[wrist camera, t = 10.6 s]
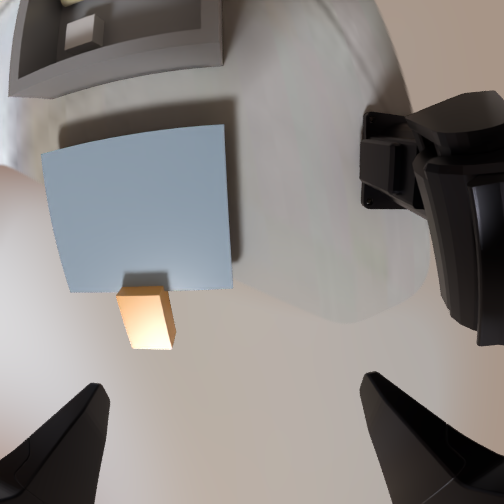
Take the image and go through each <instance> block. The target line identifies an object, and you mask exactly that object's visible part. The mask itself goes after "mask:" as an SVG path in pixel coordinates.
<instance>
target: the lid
mask: <svg viewBox="0 0 504 504" xmlns="http://www.w3.org/2000/svg"><path fill="white" fill-rule="evenodd" d="M41 158H42V167H43V175H44V182H45V189H46V195H47V201H48V207H49V212H50V216H51V222H52V226H53V231H54V235H55V239H56V244H57V248H58V251H59V255H60V259H61V263H62V266H63V269H64V273H65V277H66V280H67V283H68V286H69V289H70V292H118V294H117V295H116V298H117V301H118V305H119V308H120V312H121V315H122V318H123V322H124V325H125V328H126V331H127V334H128V337H129V340H130V343H131V346H132V348H136V349H172V347H173V343H174V339H175V334H176V329H175V324H174V319H173V315H172V310H171V305H170V300H169V294H168V291H182V290H207V289H208V290H209V289H230V288H233V275H232V260H231V245H230V228H229V211H228V193H227V173H226V152H225V129H224V124H221V125H206V126H194V127H184V128H174V129H166V130H158V131H150V132H143V133H137V134H131V135H125V136H119V137H113V138H108V139H103V140H98V141H93V142H88V143H84V144H79V145H75V146H71V147H66V148H62V149H59V150H55V151H51V152H47V153H44V154H41Z"/></svg>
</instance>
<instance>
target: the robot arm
mask: <svg viewBox="0 0 504 504" xmlns="http://www.w3.org/2000/svg"><path fill="white" fill-rule="evenodd" d="M370 116H372V117H373V119H374V120H373V122H372V123H371V122H370V120H369V118H370ZM359 178H360V180H361V181H362V191H361V204H362V205H363V206H364V207H365V208H367V209H408V210H410V211H412V212H414V213H416V214H417V215H419V216H421V217H423V218H424V219H426V220H428V225H429V229H430V234H431V238H432V243H433V248H434V253H435V259H436V265H437V271H438V277H439V284H440V290H441V296H442V298H443V300H444V302H445V304H446V306H447V308H448V309H449V310H450V315H451V317H452V318H454V319H455V320H456V321H457V322H458V323H460V324H461V325H463V326H465V327H468V328H470V329H472V330H475V331H477V345H478V346H489V345H504V100H503V99H502V98H501V96H500V95H498V93H497V92H496V91H482V92H471V93H464V94H460V95H458V96H455V97H453V98H450V99H447V100H445V101H442V102H440V103H438V104H435V105H432V106H430V107H428V108H425V109H423V110H420V111H418V112H416V113H413V114H411V115H408V116H406V117H404V116H398V115H391V114H385V113H377V112H367V113H366V114H365V115H364V118H363V140H362V141H361V144H360V177H359ZM368 198H370V199H371V201H370V203H369V204H367V199H368ZM360 396H361V401H362V405H363V410H364V414H365V418H366V422H367V427H368V431H369V434H370V437H371V440H372V443H373V445H374V448H375V451H376V454H377V457H378V460H379V463H380V466H381V469H382V472H383V475H384V478H385V481H386V484H387V487H388V490H389V494H390V497H391V500H392V503H393V504H504V456H503V455H500V454H497V453H495V452H493V451H491V450H489V449H488V448H486V447H484V446H482V445H480V444H478V443H477V442H475V441H473V440H471V439H470V438H468V437H466V436H464V435H463V434H462V433H460V432H458V431H457V430H456V429H454V428H453V427H451V426H450V425H448V424H446V422H444V421H443V420H442V419H440V418H439V417H438V416H436V415H435V414H433V413H432V412H431V411H429V410H428V409H427V408H425V407H424V406H423V405H421V404H420V403H418V402H417V401H416V400H414V399H413V398H412V397H410V396H409V395H408V394H406V393H405V392H404V391H402V390H401V389H400V388H398V387H397V386H395V385H394V384H393V383H392V382H390V381H389V380H387V379H386V378H385V377H383V376H382V375H381V374H380V373H378V372H376V371H374V372H369V373H366V374H365V375H364V377H363V380H362V383H361V386H360ZM109 408H110V399H109V397H108V395H107V393H106V391H105V389H104V388H103V386H102V385H101V384H99V383H90V384H89V385H87V386H86V387H85V388H84V389H83V390H82V391H81V392H79V394H77V395H76V396H75V397H74V398H73V399H71V400H70V401H69V402H68V403H67V404H66V405H65V406H63V407H62V408H61V409H60V410H59V411H58V412H57V413H56V414H54V415H53V416H52V417H51V418H50V419H49V420H48V421H47V422H45V423H44V424H43V425H42V426H41V427H40V428H39V429H38V430H36V431H35V432H34V433H33V434H32V435H31V436H30V437H29V438H27V440H25V441H24V442H23V443H22V444H21V445H19V446H18V447H17V448H16V449H15V450H13V451H12V452H11V453H9V454H8V455H7V456H5V457H4V458H2V459H1V460H0V504H94V502H95V496H96V489H97V483H98V478H99V472H100V467H101V461H102V456H103V451H104V447H105V442H106V435H107V425H108V416H109Z"/></svg>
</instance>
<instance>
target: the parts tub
mask: <svg viewBox="0 0 504 504" xmlns="http://www.w3.org/2000/svg"><path fill="white" fill-rule="evenodd" d="M215 66H223V45H222V0H21V1H20V5H19V9H18V14H17V19H16V24H15V30H14V37H13V44H12V51H11V61H10V73H9V94H8V97H28V98H44V99H55V98H57V97H60V96H64V95H67V94H70V93H73V92H76V91H80V90H83V89H87V88H90V87H94V86H98V85H102V84H106V83H110V82H114V81H118V80H123V79H128V78H133V77H138V76H143V75H149V74H155V73H161V72H168V71H175V70H183V69H192V68H202V67H215Z"/></svg>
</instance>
